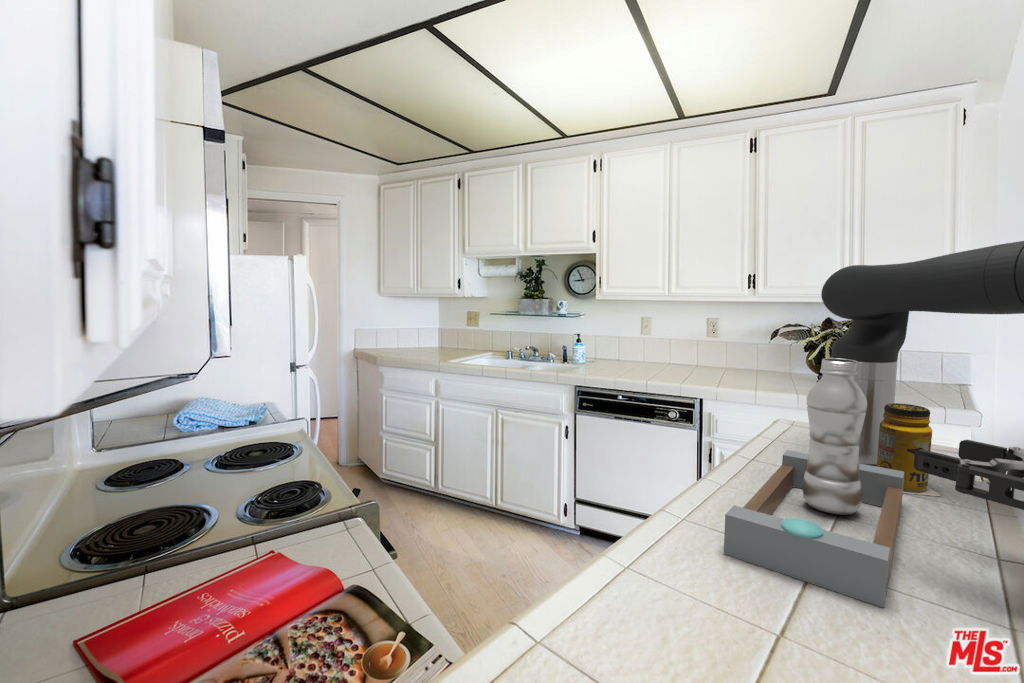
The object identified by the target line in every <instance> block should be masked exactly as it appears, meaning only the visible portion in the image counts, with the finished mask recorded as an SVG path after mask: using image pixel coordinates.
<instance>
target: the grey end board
mask: <svg viewBox="0 0 1024 683" xmlns="http://www.w3.org/2000/svg"><path fill="white" fill-rule="evenodd" d="M723 533H724V534H723V535H724V537H723V538H724V539H723V554H724V555H727V556H730V557H732V558H735V559H738V560H741V561H744V562H748V563H750V564H753V565H756V566H759V567H762V568H765V569H769V570H771V571H772V572H773V571H774V572H776V573H780V574H782V575H786V576H789V577H791V578H795V579H798V580H800V581H802V582H806V583H808V584H813V585H814V586H815V585H816V586H818V587H820V588H824V589H827V590H829V591H833V592H836V593H839V594H841V595H844V596H847V597H850V598H853V599H856V600H859V601H862V602H865V603H869V604H871V605H874V606H877V607H880V608H883V609H885V604H886V598H887V595H888V594H887V593H888V588H887V582H888V569H889V556H890V548H889V547H886V546H882V545H878V544H875V543H873V542H870V541H866V540H863V539H860V538H856V537H851V536H849V535H845V534H842V533H837V532H833V531H830V530H826V529H823V528H822V526H820V525H819V524H817V523H815V522H813V521H810V520H807V519H804V518H799V517H798V518H797V517H788V518H782V517H779V516H774V515H772V514H771V515H768V514H764V513H760V512H757V511H753V510H749V509H746V508H743V507H741V506H737V505H733V506H732V507H731V508H730V509H729V510H727V512H726V513H725V515H724V532H723ZM888 583H889V582H888Z"/></svg>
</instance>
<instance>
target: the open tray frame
mask: <svg viewBox="0 0 1024 683" xmlns="http://www.w3.org/2000/svg"><path fill="white" fill-rule="evenodd" d="M793 468H794V467H792V466H787V465H782V464H780V466H779V467H778V469H776V471H775V472H774V473H773V474H772V475H771V476H770V477H769V478H768V479H767V481H766V482H765V483H764V484H763V485H762V486H761V487H760V488H759V489H758V491H756V493H754V495H753V496H752V497H751V498H750V499H749V501H747V503H745V505H744V506H743V507H742V508H746V509H749V510H753V511H757V512H760V513H764V514H768V515H771V516H772V514H773V513H774V512H775V510H776V509H777V508H778V507H779V505H780V504H781V502H782V501H783V500H784V498H785V497H786V496H787V494H788V493H789V492H790V491H791V489H792V488H793ZM901 500H902V501H903V496H902V489H899V488H894V487H889V486H888V487H887V491H886V495H885V499H884V503H883V507H881V510H880V511H881V512H880V514H879V520H878V523H877V526H876V531H875V535H874V538H873V542H872V543H875V544H878V545H882V546H886V547H889V548H890V556H889V569H888V582H887V589H888V587H889V581H890V576H891V571H892V563H893V559H894V552H895V546H896V542H897V536H898V529H899V528H898V527H899V524H900V517H901V512H902V506H901Z"/></svg>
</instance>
